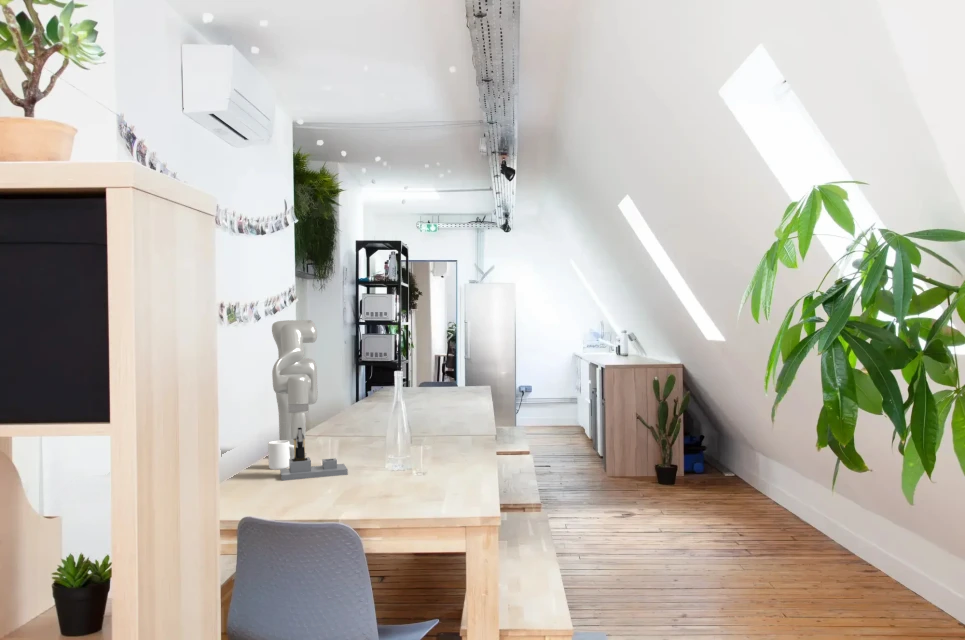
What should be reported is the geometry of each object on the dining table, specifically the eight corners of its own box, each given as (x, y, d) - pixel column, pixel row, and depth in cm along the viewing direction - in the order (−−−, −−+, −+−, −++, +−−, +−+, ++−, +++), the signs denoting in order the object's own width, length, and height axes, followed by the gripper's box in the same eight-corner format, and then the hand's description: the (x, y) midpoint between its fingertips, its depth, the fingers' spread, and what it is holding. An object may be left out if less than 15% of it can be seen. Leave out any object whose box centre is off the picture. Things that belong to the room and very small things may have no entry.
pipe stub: (294, 463, 276) (293, 431, 276) (304, 462, 277) (304, 430, 277) (294, 465, 272) (293, 433, 272) (305, 464, 273) (304, 432, 273)
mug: (301, 464, 297) (300, 439, 297) (297, 468, 288) (296, 442, 289) (271, 466, 296) (270, 440, 296) (266, 470, 288) (265, 444, 288)
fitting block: (280, 474, 278) (280, 458, 278) (343, 468, 286) (343, 453, 286) (281, 480, 267) (281, 464, 267) (347, 474, 274) (347, 458, 274)
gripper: (287, 407, 282) (288, 454, 282) (289, 411, 266) (290, 461, 266) (306, 405, 284) (308, 452, 284) (310, 410, 268) (311, 459, 268)
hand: (299, 456), depth 275 cm, fingers closed on pipe stub, 4 cm apart
